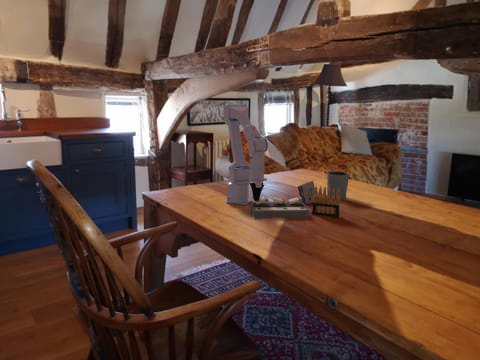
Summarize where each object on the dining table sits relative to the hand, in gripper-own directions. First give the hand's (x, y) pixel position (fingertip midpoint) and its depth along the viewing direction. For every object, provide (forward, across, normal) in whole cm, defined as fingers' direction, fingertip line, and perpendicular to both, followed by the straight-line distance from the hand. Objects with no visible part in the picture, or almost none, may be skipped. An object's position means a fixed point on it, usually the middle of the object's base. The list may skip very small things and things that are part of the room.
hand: (256, 200), depth 149 cm
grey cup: (+5, +21, -41) cm, 46 cm away
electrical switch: (+5, +15, -25) cm, 30 cm away
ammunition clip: (+5, -5, -28) cm, 29 cm away
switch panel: (+5, -1, -9) cm, 11 cm away
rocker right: (0, 0, -16) cm, 16 cm away
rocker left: (0, 0, -2) cm, 2 cm away
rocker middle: (0, 0, -9) cm, 9 cm away
